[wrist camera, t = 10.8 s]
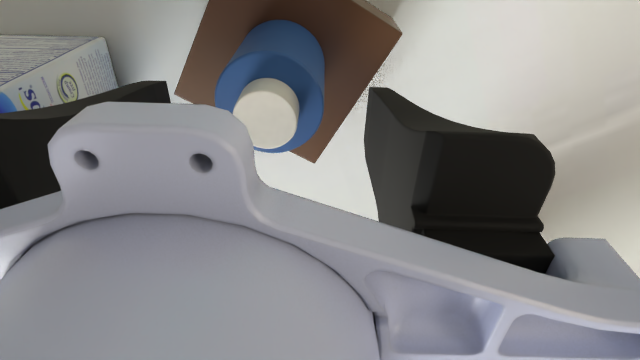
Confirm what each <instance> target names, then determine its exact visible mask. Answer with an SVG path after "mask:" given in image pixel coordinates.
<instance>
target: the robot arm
mask: <svg viewBox="0 0 640 360" xmlns="http://www.w3.org/2000/svg"><path fill="white" fill-rule="evenodd" d="M364 146H365V158H366V163H367V167H368V171H369V175H370V179H371V183H372V187H373V191H374V195H375V199H376V204H377V210H378V218H379V222H378V221H375V220H372V219H369V218H365V217H362V216H359V215H356V214H353V213H350V212H347V211H344V210H340V209H337V208H334V207H331V206H328V205H325V204H322V203H318V202H315V201H312V200H309V199H306V198H303V197H300V196H296V195H293V194H290V193H287V192H284V191H281V190H278V189H275V188H271V187H269V186H268V185H266V184H265V183H264V182H263V181H262V180H261V179H260V178H259V176H258V174H257V171H256V167H255V160H254V148H253V143H252V140H251V138H250V135H249V133H248V130H247V128H246V125H244V124H243V123H242V122H241V121H240V120H239V119H237V118H236V117H235V116H234V115H233V114H232V113H230V112H229V111H228V110H224V109H220V108H216V107H213V106H209V105H205V104H172V103H171V102H170V97H169V92H168V88H167V83H166V81H141V82H136V83H132V84H129V85H125V86H122V87H119V88H116V89H112V90H109V91H106V92H103V93H100V94H96V95H93V96H89V97H86V98H82V99H79V100H75V101H71V102H67V103H63V104H58V105H53V106H48V107H43V108H37V109H30V110H23V111H15V112H8V113H0V360H640V278H639V277H638V276H637V275H636V274H635V273H634V272H633V270H632V269H631V268H630V267H629V266H628V265H627V263H626V262H625V261H624V260H623V259H622V258H621V257H620V255H619V254H618V253H617V252H616V251H615V250H614V249H613V247H612V246H611V245H610V244H609V243H608V242H607V240H606V239H594V238H558V239H555V240H553V241H551V242H549V243H548V244H547V243H546V242H545V240H544V239H543V237H542V236H541V234H540V233H539V232H542V231H543V229H544V224H543V223H542V222H541V220H540V219H539V217H538V214H539V212H540V210H541V207H542V205H543V203H544V201H545V199H546V197H547V194H548V192H549V190H550V188H551V186H552V183H553V179H554V176H555V162H554V160H553V157H552V155H551V153H550V151H549V150H548V149H547V148H546V147H545V146H544V145H543V144H542V143H541V142H540V141H539V140H538V138H537V137H536V136H535V135H534V134H521V133H508V132H498V131H492V130H486V129H480V128H475V127H471V126H467V125H463V124H460V123H456V122H453V121H450V120H447V119H445V118H442V117H440V116H437V115H435V114H432V113H430V112H428V111H426V110H424V109H423V108H421V107H419V106H417V105H415V104H414V103H412V102H410V101H409V100H407V99H406V98H404V97H402V96H401V95H399V94H398V93H396V92H395V91H393V90H391V89H389V88H380V87H369V95H368V105H367V114H366V124H365V133H364Z"/></svg>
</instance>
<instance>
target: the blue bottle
mask: <svg viewBox="0 0 640 360" xmlns="http://www.w3.org/2000/svg"><path fill="white" fill-rule="evenodd" d="M324 73H325V63H324V56H323V52H322V49H321V47H320V45H319V43H318V41H317V40H316V38H315V37H314V36H313V35H312V34H311V33H310V32H309V31H308V30H307V29H306V28H304V27H303V26H301V25H299V24H297V23H294V22H291V21H287V20H271V21H267V22H264V23H262V24H260V25H258V26H256V27H255V28H254V29H252V30H251V31H250V32H249V33H248V34H247V36H246V37H245V39H244V40H243V42H242V43H241V45H240V46H239V48H238V49H237V51H236V52H235V54H234V55H233V57H232V58H231V60H230V61H229V63H228V64H227V66H226V67H225V69H224V70H223V71H222V73H221V74H220V77H219V79H218V81H217V84H216V88H215V107H216V108H220V109H224V110H228V111H229V112H230V113H232V114H233V115H234V116H235V117H236V118H237V119H239V120H240V121H241V122H242V123H243V124H244V125H246V128H247V130H248V133H249V135H250V138H251V140H252V143H253V148H254V150H257V151H261V152H267V153H280V152H286V151H290V150H293V149H295V148H297V147H299V146H301V145H303V144H304V143H306V142H307V141H308V140H309V139H310V138H311V137H312V136H313V135H314V134H315V132H316V131H317V130H318V128H319V126H320V124H321V121H322V118H323V113H324Z"/></svg>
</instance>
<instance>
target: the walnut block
mask: <svg viewBox="0 0 640 360" xmlns="http://www.w3.org/2000/svg"><path fill="white" fill-rule="evenodd" d="M271 20H287V21H291V22H294V23H297V24H299V25H301V26H303V27H304V28H306V29H307V30H308V31H309V32H310V33H311V34H312V35H313V36H314V37H315V38H316V40H317V41H318V43H319V45H320V47H321V49H322V52H323V56H324V63H325V73H324V113H323V118H322V121H321V124H320V126H319V128H318V130H317V131H316V132H315V134H314V135H313V136H312V137H311V138H310V139H309V140H308V141H307V142H306V143H304V144H303V145H301V146H299V147H297V148H295V149H293V150H290V152H292V153H294V154H296V155H298V156H300V157H302V158H304V159H306V160H308V161H310V162H312V163H315V162H316V161H317V159H318V158H319V156H320V155H321V153H322V152H323V150H324V149H325V148H326V146H327V145H328V143H329V142H330V140H331V139H332V137H333V136H334V134H335V133H336V131H337V130H338V128H339V127H340V125H341V124H342V122H343V121H344V119H345V118H346V117H347V115H348V114H349V112H350V111H351V109H352V108H353V106H354V105H355V103H356V102H357V100H358V99H359V97H360V96H361V94H362V93H363V91H364V90H365V88H366V87H367V86H368V84H369V83H370V81H371V80H372V78H373V77H374V75H375V74H376V72H377V71H378V69H379V68H380V66H381V65H382V63H383V62H384V60H385V59H386V58H387V56H388V55H389V53H390V52H391V50H392V49H393V47H394V46H395V44H396V43H397V41H398V40H399V38H400V37H401V35H402V32H401V30H400V29H399V27H398V26H397V24H396V23H395V21H394V20H393V18H391V17H390V16H388V15H387V14H385V13H384V12H382V11H381V10H379V9H378V8H376V7H375V6H373V5H371V4H370V3H368V2H367V1H365V0H209V2H208V4H207V7H206V10H205V12H204V15H203V18H202V20H201V23H200V26H199V28H198V31H197V34H196V37H195V39H194V42H193V45H192V47H191V50H190V53H189V55H188V58H187V61H186V63H185V66H184V69H183V71H182V74H181V77H180V79H179V82H178V85H177V87H176V90H175V93H174V94H175V95H177V96H179V97H181V98H183V99H185V100H187V101H189V102H191V103H193V104H205V105H209V106H213V107H215V88H216V84H217V81H218V79H219V77H220V74H221V73H222V71H223V70H224V69H225V67H226V66H227V64H228V63H229V61H230V60H231V58H232V57H233V55H234V54H235V52H236V51H237V49H238V48H239V46H240V45H241V43H242V42H243V40H244V39H245V37H246V36H247V34H248V33H249V32H250V31H251V30H252V29H254V28H255V27H256V26H258V25H260V24H262V23H264V22H267V21H271Z"/></svg>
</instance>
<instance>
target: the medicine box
mask: <svg viewBox="0 0 640 360" xmlns="http://www.w3.org/2000/svg"><path fill="white" fill-rule="evenodd" d="M116 88H118V84H117V80H116V77H115V74H114V70H113V66H112V62H111V59H110V55H109V51H108V48H107V44H106V40H105V38H103V37H78V36H37V35H0V113H8V112H15V111H23V110H30V109H37V108H43V107H48V106H53V105H58V104H63V103H67V102H71V101H75V100H79V99H82V98H86V97H89V96H93V95H96V94H100V93H103V92H106V91H109V90H112V89H116Z"/></svg>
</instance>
